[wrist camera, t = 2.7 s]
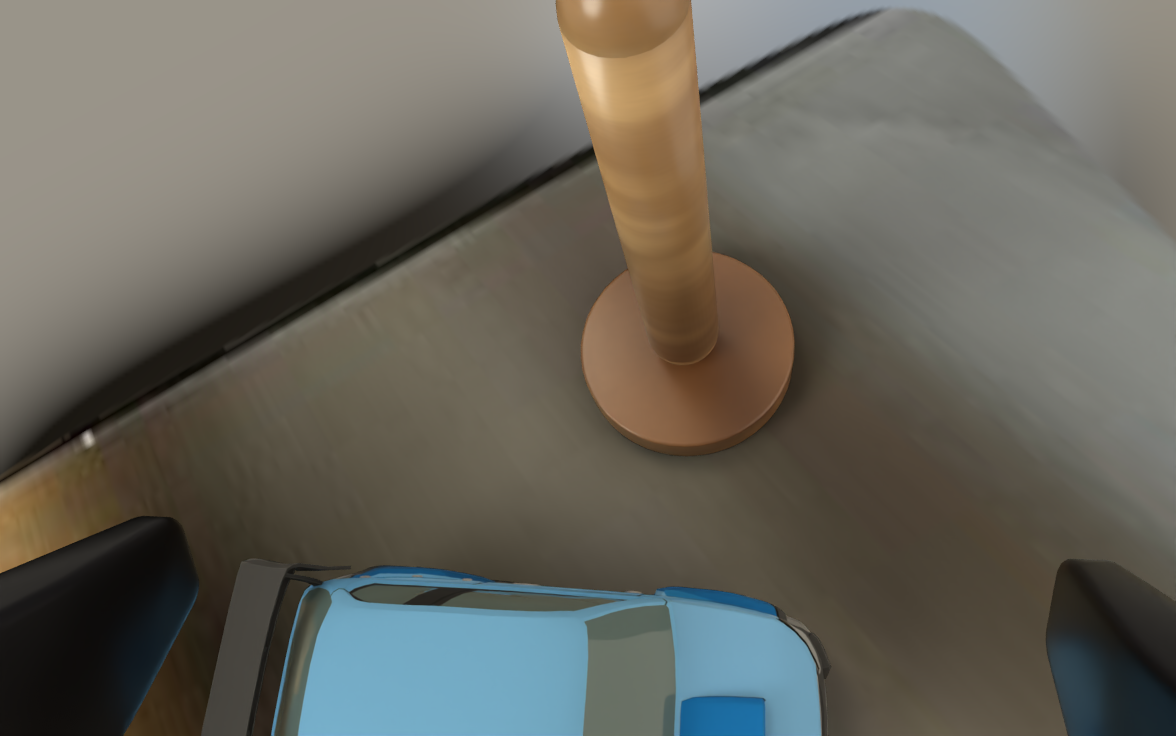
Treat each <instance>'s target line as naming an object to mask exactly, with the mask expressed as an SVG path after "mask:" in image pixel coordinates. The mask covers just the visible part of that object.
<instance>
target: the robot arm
mask: <svg viewBox="0 0 1176 736" xmlns="http://www.w3.org/2000/svg"><path fill="white" fill-rule="evenodd" d="M198 589H199V578H198V574H197V570H196V567H195V564H194V561H193V558H192V555H191V551H190V548H189V545H188V542H187V539H186V536H185V532H184V530H183V527H182V525H181V524H180V523H179V522H178V521H177V520H175V519H173V518H171V517H154V516H140V517H136V518H133V519H130V520H128V521H126V522H123V523H121V524H118V525H116V526H113V527H111V528H109V529H106V530H104V531H101V532H99V533H97V534H94V535H92V536H89V537H87V538H85V539H82V540H80V541H77V542H75V543H72V544H70V545H68V546H65V547H63V548H60V549H58V550H56V551H53V552H51V553H48V554H46V555H44V556H41V557H39V558H36V559H34V560H31V561H29V562H27V563H24V564H22V565H19V566H17V567H15V568H12V569H10V570H7V571H5V572H2V573H0V736H123V735H124V733H125V732H126V730H127V728H128V727H129V725H130V724H131V722H132V720H133V718H134V716H135V715H136V713H137V711H138V709H139V707H140V706H141V704H142V702H143V700H144V698H145V696H146V694H147V692H148V690H149V689H150V687H151V685H152V683H153V681H154V679H155V677H156V675H157V673H158V671H159V669H160V668H161V666H162V664H163V662H164V660H165V658H166V656H167V654H168V652H169V650H170V648H171V647H172V645H173V643H174V641H175V639H176V637H177V635H178V633H179V631H180V629H181V627H182V626H183V624H184V622H185V620H186V618H187V616H188V614H189V612H190V610H191V608H192V606H193V604H194V603H195V600H196V598H197V594H198ZM1046 648H1047V655H1048V659H1049V663H1050V667H1051V671H1052V675H1053V679H1054V683H1055V687H1056V691H1057V695H1058V699H1059V703H1060V706H1061V710H1062V714H1063V718H1064V722H1065V726H1066V730H1067V734H1068V736H1176V601H1174V600H1173V599H1171V598H1170V597H1168V596H1166V595H1165V594H1163V593H1162V592H1160V591H1159V590H1157V589H1156V588H1154V587H1153V586H1151V585H1150V584H1148V583H1146V582H1145V581H1143V580H1142V579H1140V578H1139V577H1137V576H1136V575H1134V574H1133V573H1131V572H1130V571H1128V570H1126V569H1125V568H1123V567H1122V566H1120V565H1118V564H1117V563H1115V562H1112V561H1107V560H1084V559H1067V560H1066V561H1064V562H1063V563H1061V565H1060V567H1059V569H1058V571H1057V575H1056V580H1055V586H1054V591H1053V596H1052V602H1051V607H1050V613H1049V618H1048V623H1047V629H1046Z"/></svg>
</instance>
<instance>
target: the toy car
mask: <svg viewBox="0 0 1176 736" xmlns="http://www.w3.org/2000/svg"><path fill="white" fill-rule="evenodd" d="M346 569H351V566H334V567H327V566H319V565H310V564H301V563H296V564H284V563H280V562H275V561H270V560H264V559H248V560H245V561H242V562H241V564H240V568H239V571H238V574H237V578H236V582H235V586H234V590H233V594H232V598H231V602H230V606H229V611H228V615H227V619H226V624H225V628H224V633H223V637H222V642H221V646H220V651H219V655H218V660H217V664H216V669H215V674H214V678H213V683H212V687H211V692H210V697H209V701H208V706H207V710H206V715H205V720H204V724H203V729H202V734H201V736H253V730H254V724H255V718H256V713H257V708H258V703H259V697H260V692H261V687H262V682H263V677H264V672H265V667H266V662H267V658H268V654H269V650H270V645H271V641H272V637H273V633H274V629H275V626H276V622H277V618H278V615H279V611H280V607H281V604H282V601H283V598H284V595H285V592H286V589H287V586H288V584H289V582H290V580H291V579H293V580H298V581H303V582H307V583H309V584H312V585H309V586H308V587H307V588H306V589H305V590H304V592H303V595H302V597H301V600H300V602H299V605H298V608H297V612H296V615H295V619H294V623H293V628H292V632H291V636H290V640H289V645H288V650H287V654H286V659H285V664H284V669H283V674H282V679H281V685H280V690H279V695H278V700H277V705H276V711H275V716H274V722H273V728H272V733H271V736H828V718H827V699H826V687H825V680H824V679H826V678H827V675H828V673H829V671H830V668H831V665H830V662H829V660H828V657H827V655H826V652H825V649H824V647H823V645H822V644H821V642H820V640H819V638H818V637H817V636H816V635H815V634H813V633H810V631H809V630H808V628H807V627H806V626H805V625H803V624H802V623H801V622H800V621H799V620H797V619H793V618H790V617H787V616H786V614H785V613H784V612H783V611H782V610H780V609H779V608H778V607H776V606H774V605H772V604H769V603H767V602H764V601H761V600H758V599H755V598H751V597H747V596H746V595H739V594H735V593H729V592H723V591H716V590H708V589H697V588H687V587H665V588H660V589H657V590H656V592H655V594H654V595H646V594H642V593H641V592H638V591H625V592H613V591H600V590H587V589H574V588H561V587H550V586H542V585H537V584H524V583H515V582H507V581H498V580H489V579H487V578H484V577H481V576H476V575H471V574H467V573H461V572H455V571H449V570H445V569H434V568H423V567H406V566H374V567H370V568H367V569H365V570H363V571H360V572H358V573H353V574H349V575H345V576H341V577H338V578H335V579H332V580H328V581H324V582H322V581H320V580H317V579H314V578H310V577H306V576H300V575H294V572H295V570H296V571H321V570H346Z"/></svg>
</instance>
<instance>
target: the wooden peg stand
mask: <svg viewBox="0 0 1176 736" xmlns="http://www.w3.org/2000/svg"><path fill="white" fill-rule="evenodd" d="M556 10H557V18H558V23H559V27H560V31H561V34H562V38H563V41H564V45H565V48H566V52H567V55H568V59H569V62H570V66H571V69H572V73H573V77H574V80H575V83H576V87H577V90H578V94H579V98H580V101H581V105H582V108H583V112H584V115H585V119H586V122H587V125H588V129H589V133H590V136H591V140H592V143H593V147H594V150H595V154H596V158H597V161H598V165H599V168H600V172H601V175H602V179H603V182H604V186H605V189H606V193H607V196H608V200H609V203H610V207H611V210H612V214H613V217H614V221H615V224H616V228H617V231H618V235H619V238H620V242H621V246H622V249H623V253H624V256H625V260H626V263H627V267H628V269H627V270H625V271H624V272H622V273H621V274H620V275H619V276H617V277H616V278H615V279H614V280H613V281H612V282H611V283H610V284H609V285H608V286H607V287H606V288H605V289H604V290H603V292H602V293H601V294H600V296H599V297H598V298H597V300H596V302H595V303H594V305H593V307H592V308H591V310H590V313H589V315H588V317H587V320H586V322H585V326H584V330H583V334H582V341H581V363H582V370H583V374H584V377H585V381H586V384H587V386H588V388H589V390H590V393H591V395H592V397H593V399H594V401H595V403H596V404H597V406H598V408H599V409H600V411H601V412H602V414H603V416H604V417H605V418H606V419H607V420H608V422H609V423H610V424H611V425H612V426H613V427H614V428H615V429H616V430H617V431H619V432H620V433H621V434H622V435H623V436H625V437H626V438H628V439H629V440H631V441H632V442H634V443H636V444H638V445H640V446H642V447H644V448H647V449H650V450H653V451H656V452H659V453H664V454H669V455H677V456H697V455H705V454H710V453H715V452H718V451H721V450H724V449H727V448H730V447H732V446H734V445H736V444H738V443H740V442H742V441H744V440H745V439H747V438H748V437H750V436H751V435H753V434H754V433H755V432H756V431H758V430H759V429H760V428H761V427H762V426H763V425H764V424H765V423H766V422H767V421H768V420H769V419H770V418H771V417H772V416H773V414H774V413H775V411H776V410H777V408H778V407H779V405H780V404H781V402H782V400H783V398H784V396H785V394H786V392H787V389H788V386H789V383H790V379H791V374H792V368H793V361H794V348H795V341H794V332H793V327H792V323H791V319H790V316H789V313H788V311H787V309H786V306H785V304H784V302H783V301H782V299H781V297H780V296H779V294H778V293H777V291H776V290H775V289H774V288H773V286H772V285H771V284H770V283H769V282H768V281H767V280H766V279H765V278H764V277H763V276H762V275H761V274H759V273H758V272H756V271H755V270H754V269H752V268H751V267H749V266H748V265H746V264H744V263H742V262H740V261H739V260H736V259H734V258H731V257H729V256H726V255H722V254H719V253H715V252H712V244H711V232H710V220H709V208H708V196H707V184H706V173H705V161H704V149H703V137H702V125H701V113H700V102H699V90H698V78H697V66H696V54H695V42H694V31H693V19H692V7H691V0H556Z"/></svg>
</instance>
